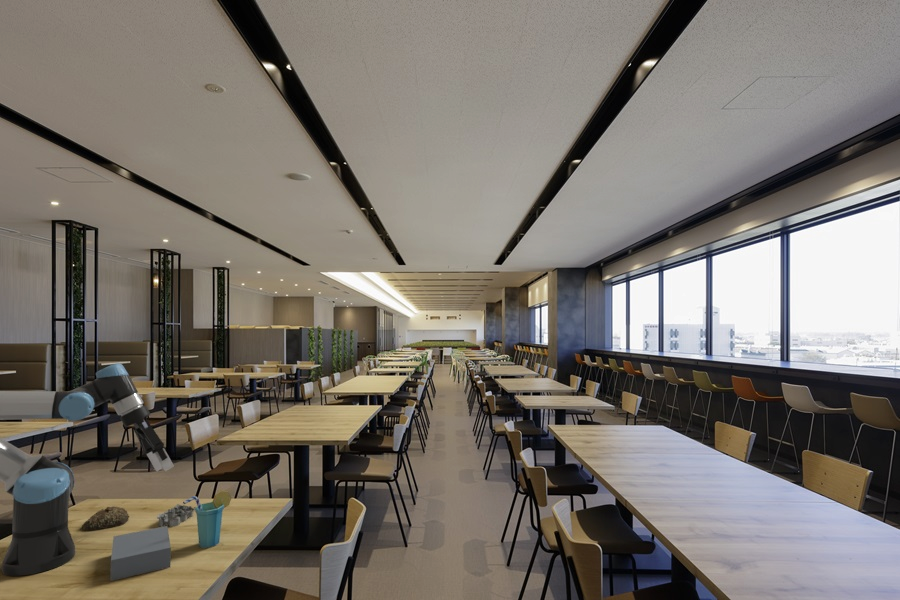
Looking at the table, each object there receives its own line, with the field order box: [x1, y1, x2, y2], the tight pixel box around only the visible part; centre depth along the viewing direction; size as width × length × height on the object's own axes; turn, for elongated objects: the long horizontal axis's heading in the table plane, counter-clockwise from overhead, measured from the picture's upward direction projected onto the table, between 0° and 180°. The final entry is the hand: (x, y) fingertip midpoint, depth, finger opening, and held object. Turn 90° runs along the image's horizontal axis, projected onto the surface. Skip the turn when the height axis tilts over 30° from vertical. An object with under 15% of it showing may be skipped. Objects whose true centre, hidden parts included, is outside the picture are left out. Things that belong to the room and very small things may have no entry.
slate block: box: [110, 525, 172, 582], centre depth 134 cm, size 13×17×5 cm
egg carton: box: [156, 503, 197, 528], centre depth 163 cm, size 11×8×4 cm
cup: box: [182, 490, 232, 549], centre depth 144 cm, size 14×8×15 cm, turn 149°
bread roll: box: [80, 506, 130, 531], centre depth 162 cm, size 13×12×5 cm
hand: (165, 469), depth 159 cm, fingers open, 13 cm apart
